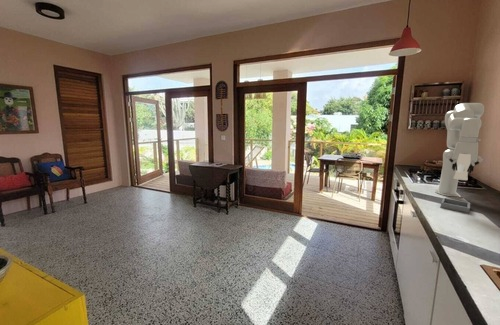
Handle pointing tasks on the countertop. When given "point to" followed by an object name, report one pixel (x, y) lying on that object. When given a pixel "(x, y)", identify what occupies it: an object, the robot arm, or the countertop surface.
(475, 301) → the countertop surface
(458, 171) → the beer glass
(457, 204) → the tray
